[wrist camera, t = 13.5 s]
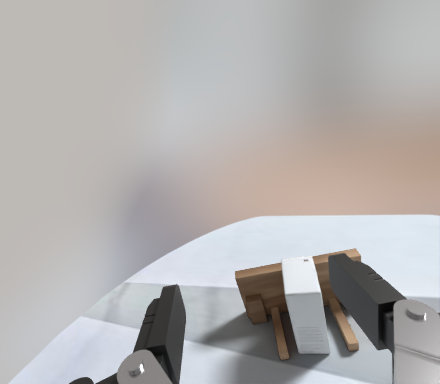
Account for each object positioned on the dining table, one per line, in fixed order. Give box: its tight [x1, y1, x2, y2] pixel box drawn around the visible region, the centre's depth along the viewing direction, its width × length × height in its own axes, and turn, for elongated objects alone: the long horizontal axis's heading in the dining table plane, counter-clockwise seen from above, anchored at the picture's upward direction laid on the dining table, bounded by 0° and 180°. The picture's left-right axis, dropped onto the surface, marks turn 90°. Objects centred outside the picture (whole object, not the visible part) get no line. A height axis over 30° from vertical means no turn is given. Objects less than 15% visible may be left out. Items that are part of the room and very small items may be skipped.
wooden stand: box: [235, 248, 361, 360], centre depth 33 cm, size 8×18×9 cm, turn 88°
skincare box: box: [281, 256, 330, 354], centre depth 32 cm, size 6×4×12 cm
